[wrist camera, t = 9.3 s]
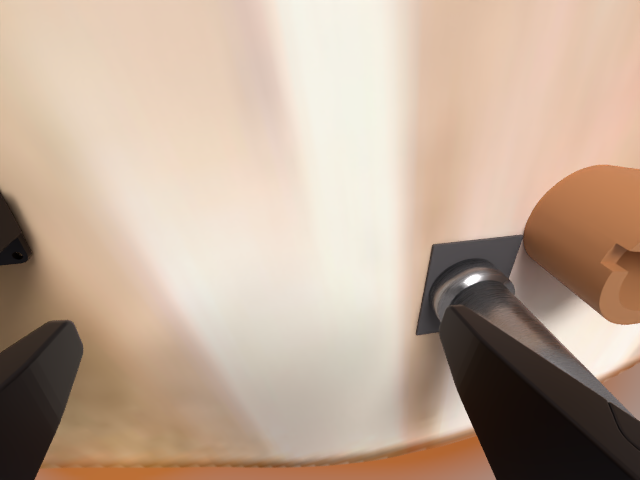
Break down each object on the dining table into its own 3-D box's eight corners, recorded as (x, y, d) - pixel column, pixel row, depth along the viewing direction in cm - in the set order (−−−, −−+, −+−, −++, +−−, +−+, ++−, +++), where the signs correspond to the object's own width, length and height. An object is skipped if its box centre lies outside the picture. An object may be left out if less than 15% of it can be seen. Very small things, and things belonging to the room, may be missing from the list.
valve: (433, 326, 29) (571, 551, 17) (421, 275, 26) (581, 508, 13) (501, 300, 29) (692, 508, 16) (497, 245, 25) (733, 454, 13)
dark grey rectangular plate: (415, 333, 29) (416, 335, 29) (432, 244, 25) (434, 246, 24) (491, 322, 30) (492, 324, 30) (521, 234, 26) (523, 236, 25)
